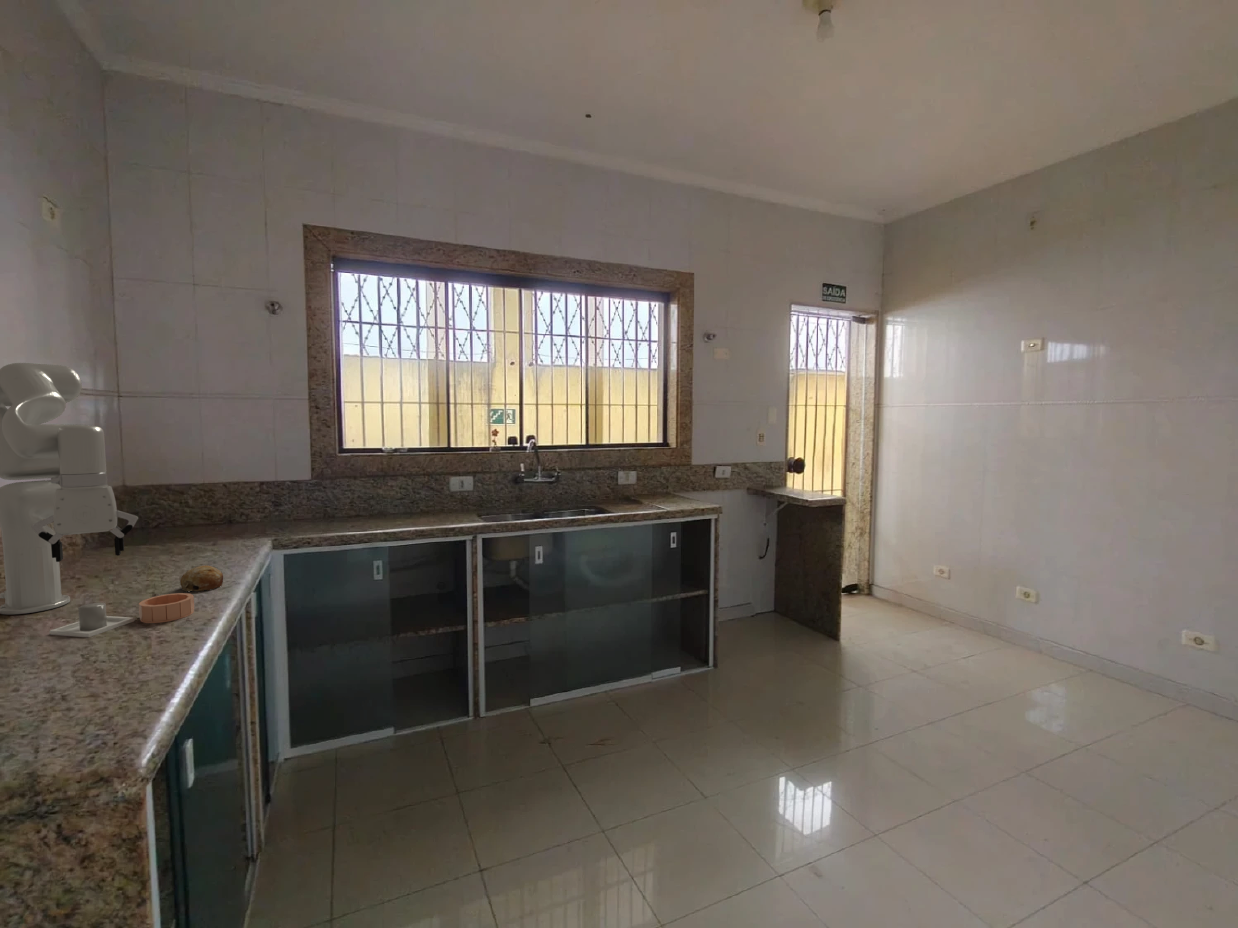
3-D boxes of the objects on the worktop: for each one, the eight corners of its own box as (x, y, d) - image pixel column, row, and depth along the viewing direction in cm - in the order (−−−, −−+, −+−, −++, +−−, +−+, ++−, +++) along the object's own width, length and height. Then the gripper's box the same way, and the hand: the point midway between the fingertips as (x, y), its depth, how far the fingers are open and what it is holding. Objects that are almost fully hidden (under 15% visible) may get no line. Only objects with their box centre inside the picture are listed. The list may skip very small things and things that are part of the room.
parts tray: (49, 635, 123) (49, 630, 123) (97, 620, 133) (97, 615, 133) (88, 638, 122) (88, 633, 122) (134, 622, 132) (134, 617, 132)
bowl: (128, 623, 132) (127, 605, 131) (168, 609, 141) (167, 592, 141) (166, 625, 130) (165, 607, 130) (204, 611, 140) (203, 594, 140)
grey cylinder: (74, 630, 126) (72, 608, 125) (95, 623, 130) (94, 602, 130) (91, 631, 125) (90, 609, 125) (112, 624, 130) (111, 603, 129)
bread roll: (177, 604, 156) (170, 582, 152) (192, 579, 165) (185, 558, 161) (218, 601, 159) (212, 579, 155) (231, 577, 167) (225, 556, 164)
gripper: (24, 485, 117) (30, 566, 118) (134, 480, 127) (138, 555, 129) (32, 482, 123) (38, 559, 124) (136, 477, 133) (141, 549, 135)
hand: (89, 557), depth 126 cm, fingers open, 9 cm apart
